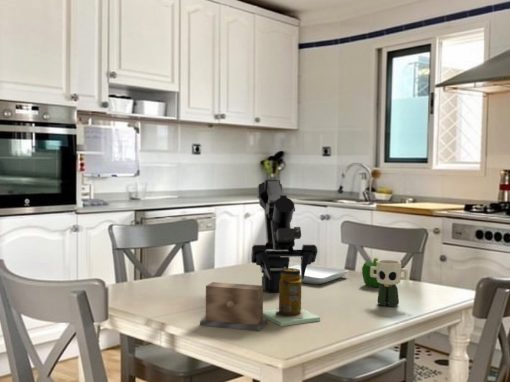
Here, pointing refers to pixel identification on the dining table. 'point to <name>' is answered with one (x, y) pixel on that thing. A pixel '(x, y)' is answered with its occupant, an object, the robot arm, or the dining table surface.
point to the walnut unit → (234, 306)
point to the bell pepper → (366, 274)
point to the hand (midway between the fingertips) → (286, 278)
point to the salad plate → (320, 274)
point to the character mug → (388, 280)
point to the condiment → (290, 294)
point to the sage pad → (290, 321)
